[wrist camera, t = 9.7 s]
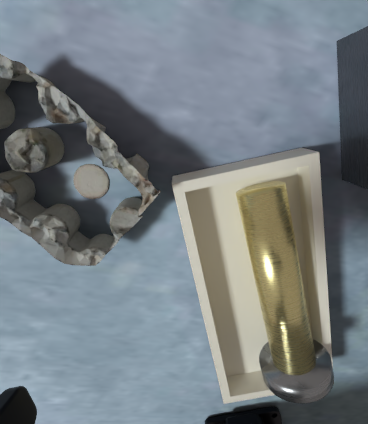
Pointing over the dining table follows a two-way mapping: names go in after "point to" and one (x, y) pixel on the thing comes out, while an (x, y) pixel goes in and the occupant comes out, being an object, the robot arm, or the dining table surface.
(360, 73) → the block
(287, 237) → the pin
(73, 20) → the dining table surface
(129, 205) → the egg carton
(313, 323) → the tray
